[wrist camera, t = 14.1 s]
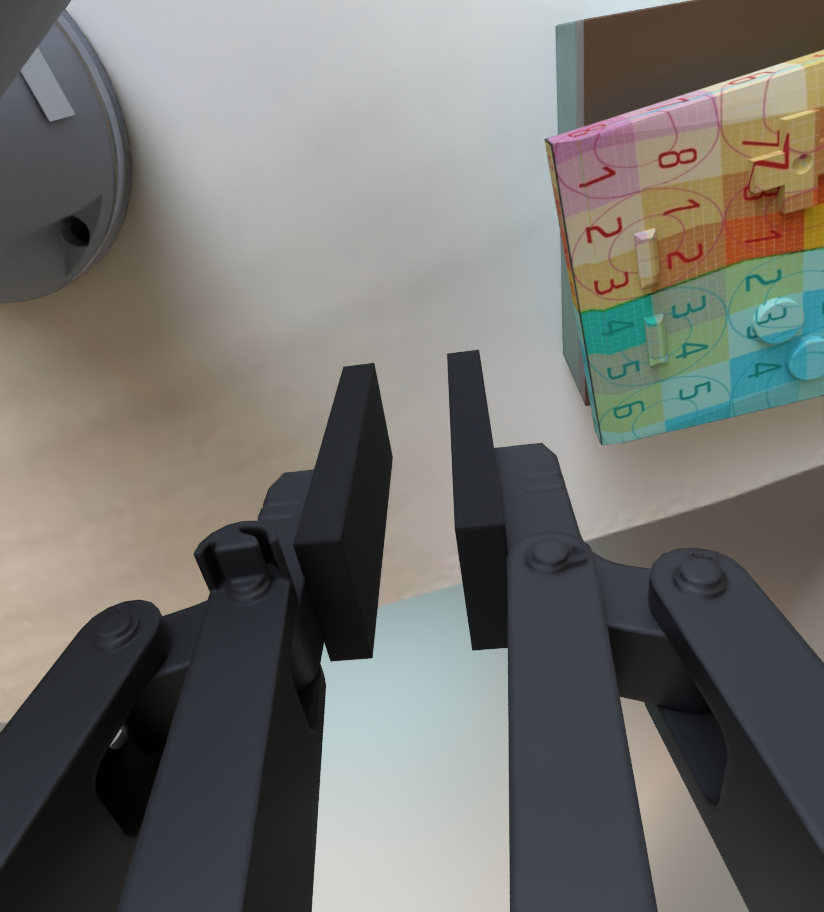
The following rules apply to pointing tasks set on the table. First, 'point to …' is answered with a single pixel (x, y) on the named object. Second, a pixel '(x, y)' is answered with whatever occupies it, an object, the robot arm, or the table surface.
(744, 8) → the step shelf
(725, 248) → the puzzle game
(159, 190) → the table surface
